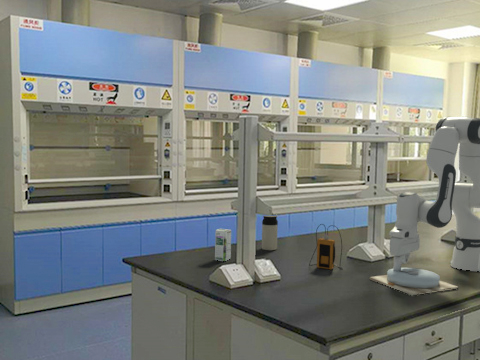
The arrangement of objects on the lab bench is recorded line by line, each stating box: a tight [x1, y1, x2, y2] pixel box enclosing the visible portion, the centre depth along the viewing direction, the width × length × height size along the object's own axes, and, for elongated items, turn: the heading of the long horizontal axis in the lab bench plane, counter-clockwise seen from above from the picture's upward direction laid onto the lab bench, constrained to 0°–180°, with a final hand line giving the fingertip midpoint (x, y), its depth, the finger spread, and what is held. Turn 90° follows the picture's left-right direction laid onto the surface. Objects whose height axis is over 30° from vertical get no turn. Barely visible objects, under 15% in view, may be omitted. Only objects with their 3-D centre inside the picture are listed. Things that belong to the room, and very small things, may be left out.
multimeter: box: [308, 223, 343, 270], centre depth 229 cm, size 15×10×20 cm
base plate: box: [369, 274, 459, 295], centre depth 204 cm, size 24×24×2 cm
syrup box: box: [214, 228, 232, 262], centre depth 238 cm, size 6×6×14 cm
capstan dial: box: [386, 256, 441, 288], centre depth 204 cm, size 20×20×9 cm
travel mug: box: [261, 215, 279, 252], centre depth 263 cm, size 8×8×18 cm
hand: (404, 263), depth 213 cm, fingers closed
